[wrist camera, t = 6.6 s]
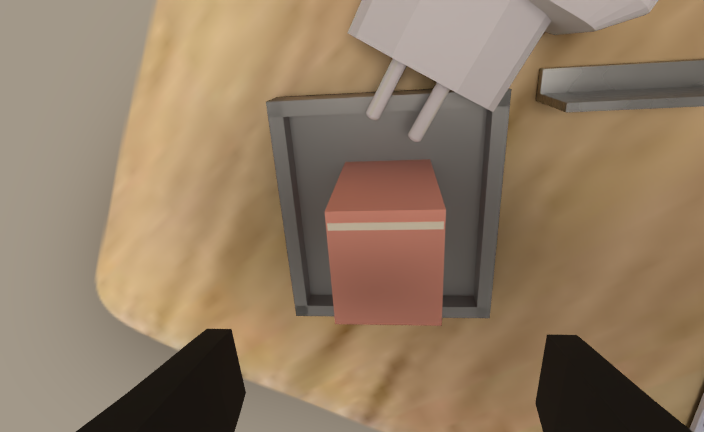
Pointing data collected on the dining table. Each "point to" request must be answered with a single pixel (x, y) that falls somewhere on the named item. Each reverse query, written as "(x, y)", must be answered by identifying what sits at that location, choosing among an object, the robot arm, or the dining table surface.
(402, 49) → the charger
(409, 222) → the salmon gift carton
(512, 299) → the dining table surface
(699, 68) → the bar
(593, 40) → the dining table surface
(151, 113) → the dining table surface
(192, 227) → the dining table surface
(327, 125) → the tray
